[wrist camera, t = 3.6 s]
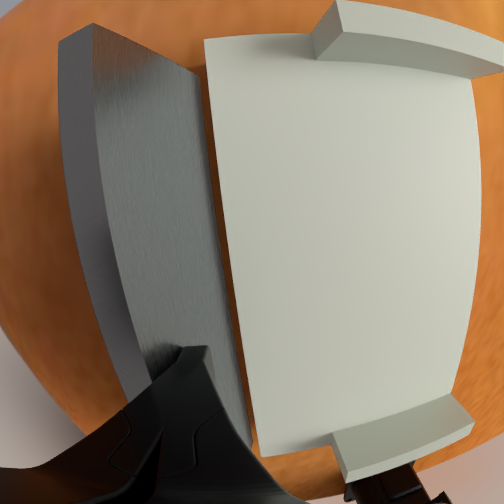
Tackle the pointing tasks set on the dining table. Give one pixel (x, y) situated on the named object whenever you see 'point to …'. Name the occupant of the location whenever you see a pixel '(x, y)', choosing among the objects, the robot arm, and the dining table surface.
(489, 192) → the dining table surface
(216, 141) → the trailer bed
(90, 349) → the dining table surface
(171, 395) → the robot arm
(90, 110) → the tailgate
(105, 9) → the dining table surface
